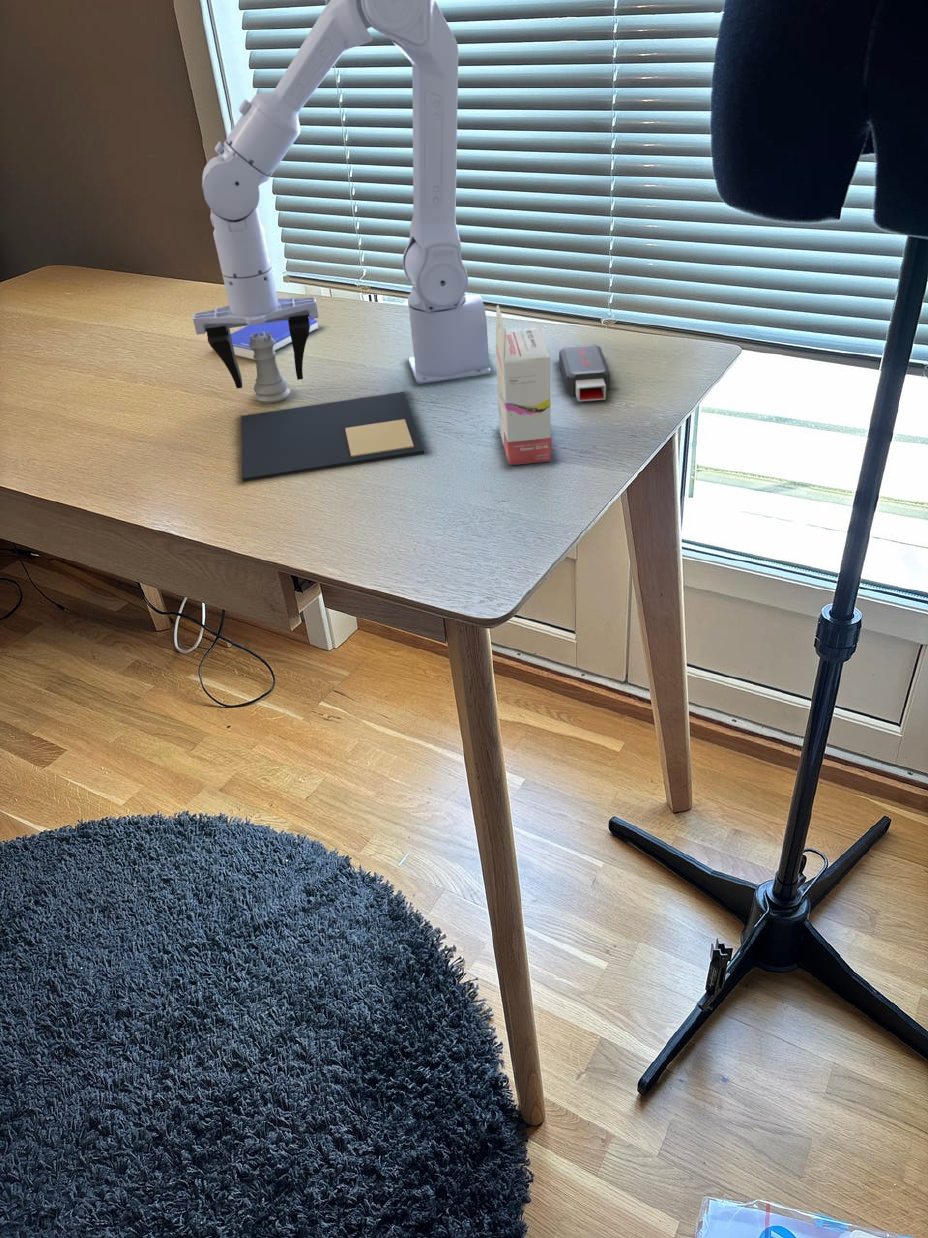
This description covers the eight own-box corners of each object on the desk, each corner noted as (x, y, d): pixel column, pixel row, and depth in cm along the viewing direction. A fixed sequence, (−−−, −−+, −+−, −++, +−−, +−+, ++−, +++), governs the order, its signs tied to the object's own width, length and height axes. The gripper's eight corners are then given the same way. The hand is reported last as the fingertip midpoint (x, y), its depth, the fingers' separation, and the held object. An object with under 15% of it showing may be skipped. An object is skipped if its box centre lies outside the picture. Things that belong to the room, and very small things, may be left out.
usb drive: (599, 360, 122) (600, 339, 121) (613, 400, 113) (614, 378, 111) (558, 363, 122) (558, 342, 121) (569, 404, 113) (569, 382, 111)
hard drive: (256, 349, 129) (316, 318, 137) (214, 339, 133) (275, 310, 141) (258, 360, 130) (318, 329, 138) (216, 350, 134) (277, 320, 142)
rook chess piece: (283, 405, 118) (271, 342, 113) (250, 404, 119) (236, 342, 114) (295, 389, 122) (284, 328, 117) (263, 389, 123) (250, 328, 118)
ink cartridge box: (554, 462, 102) (552, 327, 93) (507, 467, 102) (501, 332, 93) (542, 426, 109) (539, 297, 100) (498, 431, 109) (491, 302, 100)
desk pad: (404, 394, 118) (403, 390, 118) (424, 453, 106) (423, 448, 105) (241, 418, 116) (240, 414, 116) (242, 481, 104) (241, 476, 103)
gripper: (182, 289, 107) (210, 402, 115) (311, 272, 109) (330, 384, 117) (184, 270, 112) (211, 379, 121) (307, 254, 114) (325, 362, 122)
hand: (269, 380), depth 119 cm, fingers open, 7 cm apart
